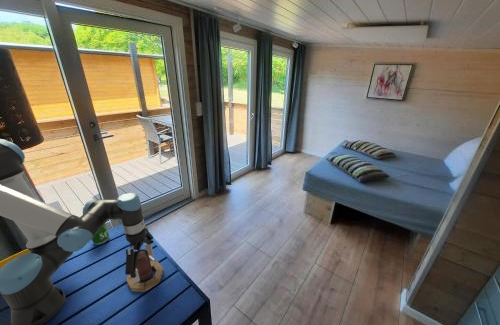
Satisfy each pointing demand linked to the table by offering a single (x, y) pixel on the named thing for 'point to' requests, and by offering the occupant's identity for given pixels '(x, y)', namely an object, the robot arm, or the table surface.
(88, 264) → the table surface
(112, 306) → the table surface
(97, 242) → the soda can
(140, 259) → the can
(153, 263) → the wooden ring
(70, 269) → the table surface
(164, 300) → the table surface
